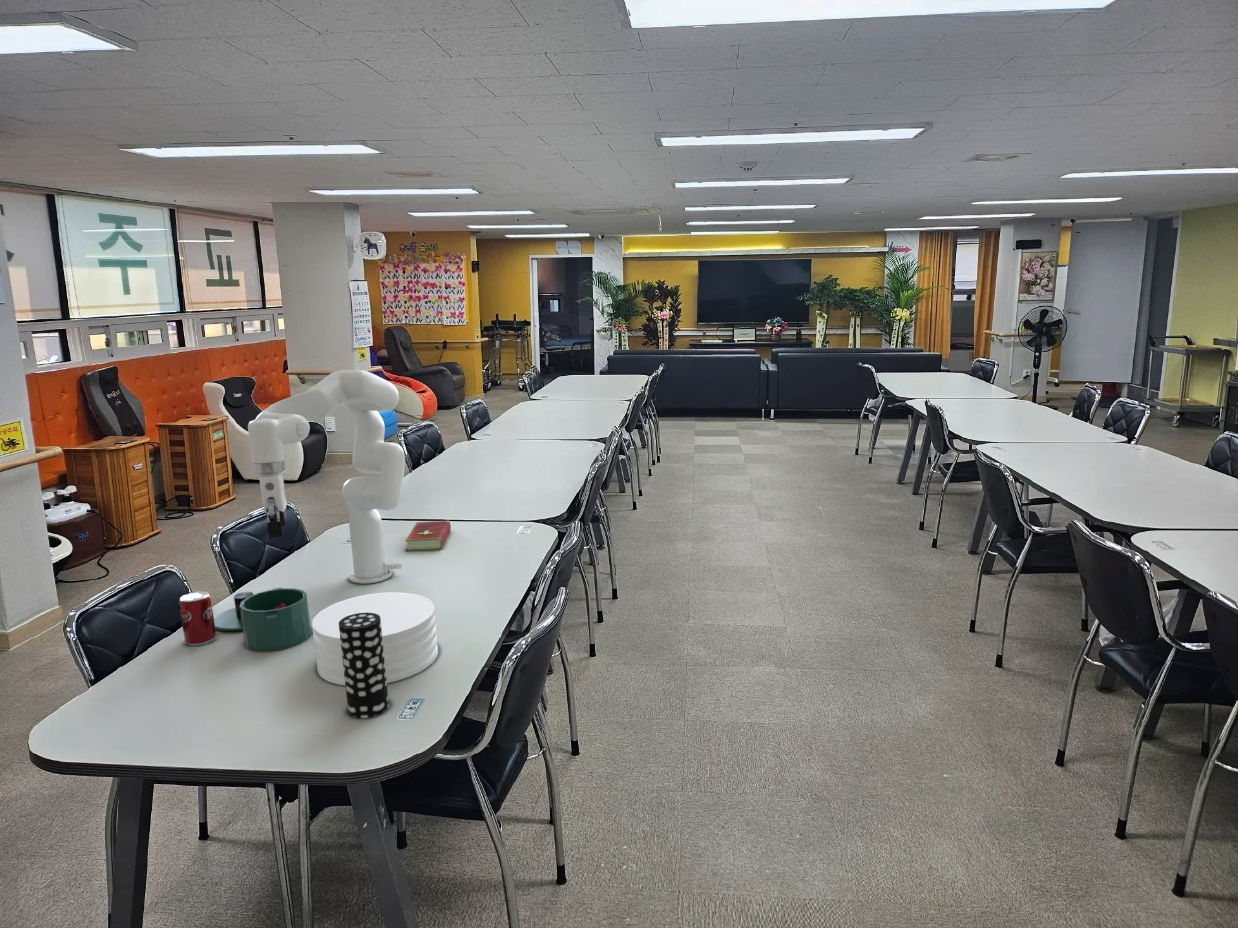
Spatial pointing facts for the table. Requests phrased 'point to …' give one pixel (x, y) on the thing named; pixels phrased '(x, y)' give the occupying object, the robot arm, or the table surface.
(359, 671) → the white-spotted black cylinder
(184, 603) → the soda can
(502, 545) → the table surface
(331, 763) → the table surface
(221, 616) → the lid
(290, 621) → the pot
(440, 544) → the hardcover book
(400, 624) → the plate stack
